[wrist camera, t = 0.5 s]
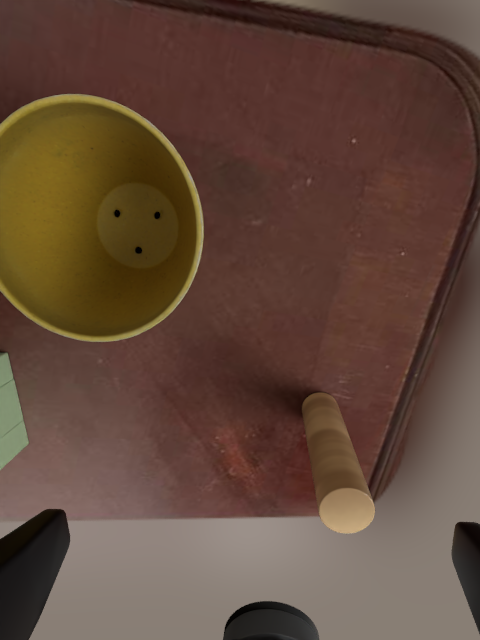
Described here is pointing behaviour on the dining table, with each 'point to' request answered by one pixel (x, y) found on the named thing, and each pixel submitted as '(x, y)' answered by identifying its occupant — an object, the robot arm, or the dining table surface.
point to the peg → (335, 467)
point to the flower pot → (94, 218)
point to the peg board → (10, 415)
